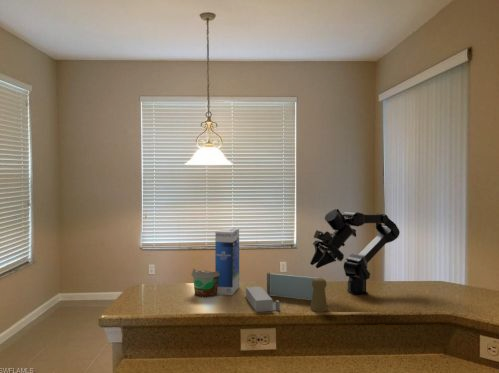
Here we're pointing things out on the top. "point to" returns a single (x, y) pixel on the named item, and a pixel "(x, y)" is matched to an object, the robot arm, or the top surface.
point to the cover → (291, 286)
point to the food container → (205, 283)
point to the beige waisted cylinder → (319, 295)
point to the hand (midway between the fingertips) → (313, 265)
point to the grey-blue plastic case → (261, 298)
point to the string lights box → (227, 260)
